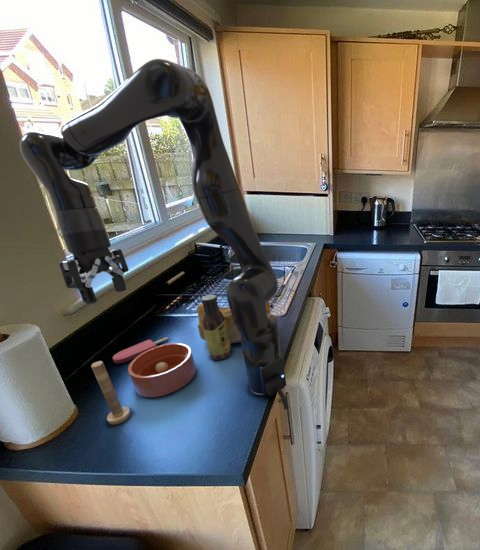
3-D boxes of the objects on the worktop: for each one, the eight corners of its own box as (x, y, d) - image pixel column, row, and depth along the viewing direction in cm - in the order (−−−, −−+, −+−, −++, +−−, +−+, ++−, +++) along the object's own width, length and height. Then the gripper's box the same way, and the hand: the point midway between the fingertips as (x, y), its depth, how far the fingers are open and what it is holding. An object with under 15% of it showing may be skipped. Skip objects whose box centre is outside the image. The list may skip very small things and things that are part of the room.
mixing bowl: (204, 378, 85) (199, 358, 83) (144, 408, 75) (136, 386, 73) (185, 355, 94) (180, 337, 91) (129, 380, 84) (122, 359, 82)
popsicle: (170, 338, 100) (115, 362, 89) (172, 342, 100) (117, 366, 90) (164, 332, 103) (109, 355, 92) (165, 336, 103) (111, 359, 93)
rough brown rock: (282, 321, 114) (277, 284, 109) (272, 345, 98) (265, 302, 93) (219, 325, 113) (211, 287, 108) (198, 349, 97) (188, 307, 92)
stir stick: (133, 416, 73) (111, 363, 67) (110, 428, 70) (85, 373, 64) (128, 407, 76) (107, 354, 70) (106, 417, 73) (82, 364, 67)
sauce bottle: (229, 359, 93) (216, 302, 85) (207, 362, 92) (192, 303, 84) (234, 346, 98) (223, 292, 91) (213, 348, 98) (200, 293, 90)
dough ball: (170, 371, 87) (167, 363, 86) (158, 376, 85) (155, 368, 84) (167, 366, 89) (164, 358, 88) (155, 371, 87) (152, 363, 85)
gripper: (69, 232, 62) (96, 306, 66) (124, 224, 75) (143, 286, 80) (34, 235, 62) (63, 309, 66) (95, 227, 76) (116, 289, 80)
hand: (107, 296), depth 73 cm, fingers open, 8 cm apart
